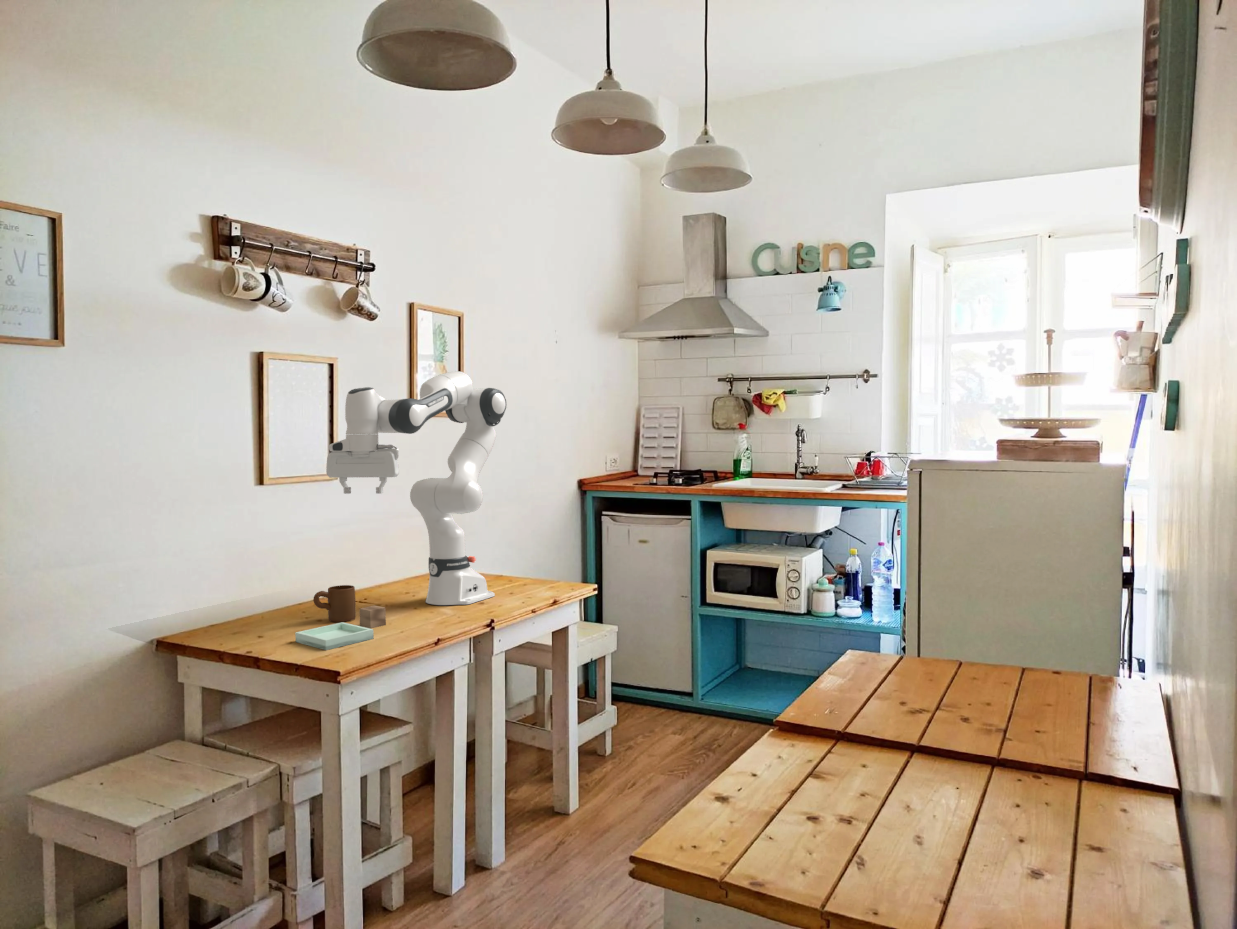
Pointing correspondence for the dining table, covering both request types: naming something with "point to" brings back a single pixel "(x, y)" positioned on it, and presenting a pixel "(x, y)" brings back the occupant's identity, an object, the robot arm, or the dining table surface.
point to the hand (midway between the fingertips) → (363, 493)
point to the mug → (338, 603)
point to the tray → (334, 635)
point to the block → (372, 616)
